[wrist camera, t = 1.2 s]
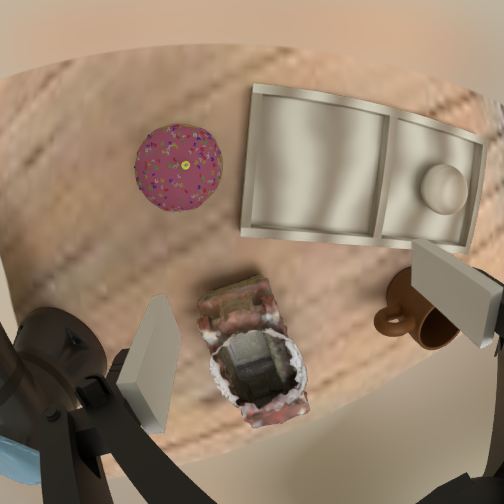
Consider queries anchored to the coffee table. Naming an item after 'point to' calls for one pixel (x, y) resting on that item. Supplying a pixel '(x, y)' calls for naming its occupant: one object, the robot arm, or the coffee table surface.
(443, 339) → the mug
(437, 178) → the wooden egg
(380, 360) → the coffee table surface
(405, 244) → the divided tray
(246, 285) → the decorative box
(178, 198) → the cupcake
